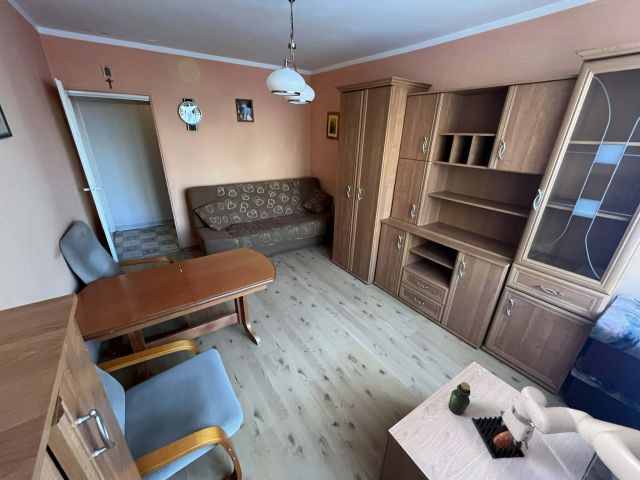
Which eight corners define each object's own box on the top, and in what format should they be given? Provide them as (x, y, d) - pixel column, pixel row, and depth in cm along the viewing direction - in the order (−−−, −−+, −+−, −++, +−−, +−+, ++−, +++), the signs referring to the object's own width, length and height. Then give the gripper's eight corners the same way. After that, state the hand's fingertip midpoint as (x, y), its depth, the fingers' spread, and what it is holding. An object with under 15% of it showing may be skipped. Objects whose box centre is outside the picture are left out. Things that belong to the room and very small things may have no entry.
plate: (514, 448, 115) (525, 432, 110) (490, 449, 114) (500, 433, 109) (513, 445, 116) (523, 430, 111) (489, 446, 115) (498, 431, 110)
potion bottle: (445, 412, 128) (455, 388, 120) (447, 398, 135) (456, 374, 127) (463, 421, 125) (475, 397, 117) (464, 406, 131) (475, 383, 123)
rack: (523, 458, 112) (528, 451, 110) (492, 459, 111) (496, 452, 109) (498, 419, 127) (502, 412, 124) (470, 419, 126) (474, 413, 123)
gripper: (550, 437, 97) (530, 462, 105) (516, 392, 112) (501, 418, 120) (531, 437, 96) (513, 463, 104) (500, 392, 112) (486, 418, 120)
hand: (507, 438), depth 112 cm, fingers open, 5 cm apart
